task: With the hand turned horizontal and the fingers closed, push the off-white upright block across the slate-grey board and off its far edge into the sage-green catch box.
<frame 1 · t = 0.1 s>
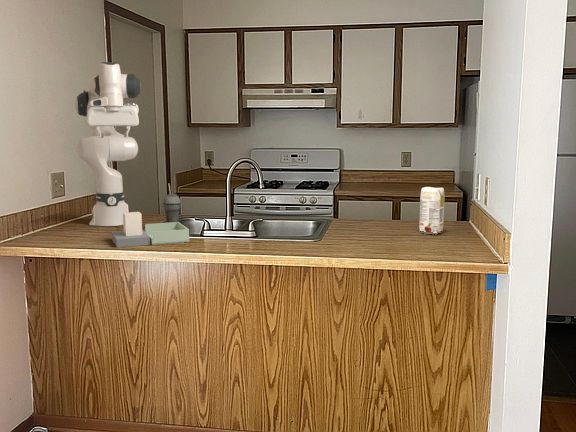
hand: (113, 137, 236), 39 cm above the countertop, tool pointing down, fingers open, 8 cm apart
juice carton: (430, 234, 242), on the countertop
board: (130, 242, 224), on the countertop
beverage cup: (172, 230, 248), on the countertop
off-white upright block: (132, 234, 224), point 3 cm above the countertop, touching board
catch box: (166, 239, 230), on the countertop
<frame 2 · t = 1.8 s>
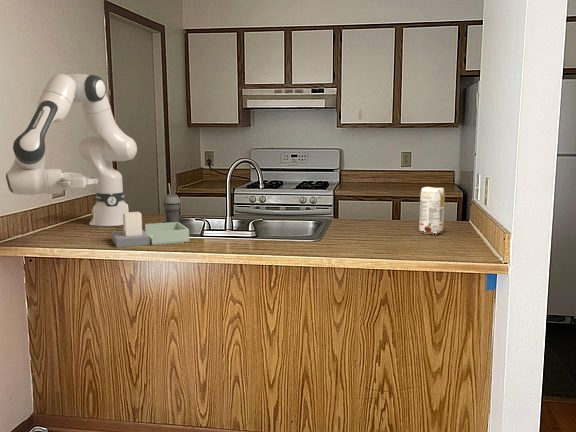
hand: (97, 180, 216), 24 cm above the countertop, tool horizontal, fingers open, 5 cm apart
nothing on the countertop moved.
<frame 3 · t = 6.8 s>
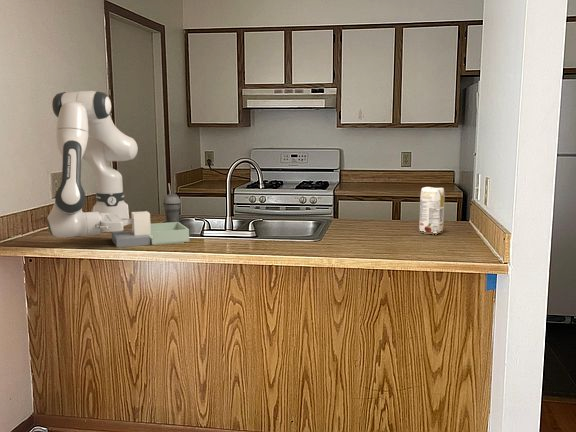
hand: (132, 221, 224), 8 cm above the countertop, tool horizontal, fingers closed
off-white upright block: (141, 233, 225), point 3 cm above the countertop, touching board
everything else where it was.
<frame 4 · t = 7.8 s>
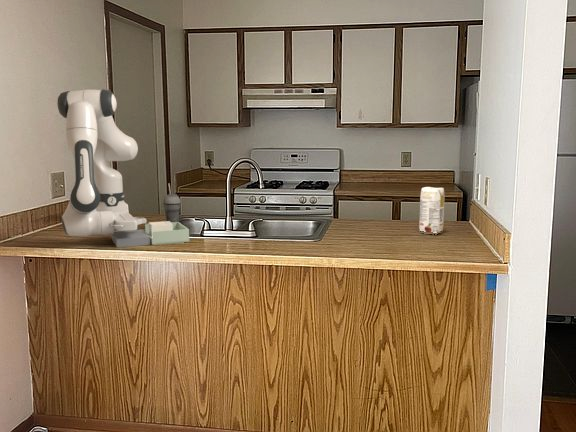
hand: (145, 220, 225), 8 cm above the countertop, tool horizontal, fingers closed
off-white upright block: (150, 231, 227), point 4 cm above the countertop, tilted 90°, touching catch box
everything else where it was.
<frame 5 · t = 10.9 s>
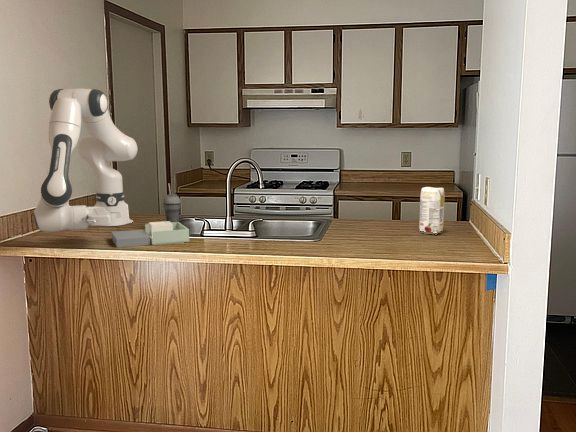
hand: (120, 214, 222), 11 cm above the countertop, tool horizontal, fingers closed
nothing on the countertop moved.
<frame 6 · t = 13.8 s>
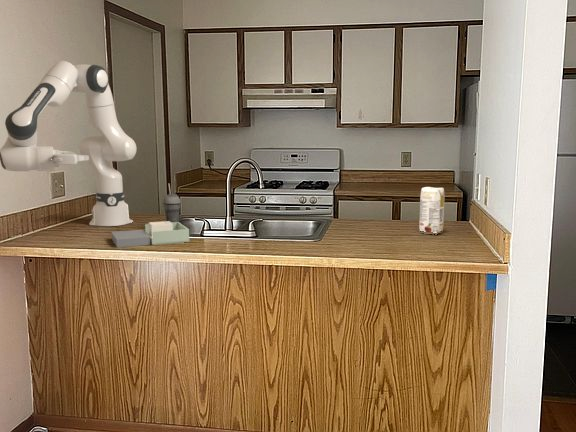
hand: (88, 157, 220), 32 cm above the countertop, tool horizontal, fingers closed
nothing on the countertop moved.
at the end: off-white upright block inside the target area on the catch box (5.9 cm from its centre), point 3.6 cm above the catch box's base; off-white upright block touching catch box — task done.
